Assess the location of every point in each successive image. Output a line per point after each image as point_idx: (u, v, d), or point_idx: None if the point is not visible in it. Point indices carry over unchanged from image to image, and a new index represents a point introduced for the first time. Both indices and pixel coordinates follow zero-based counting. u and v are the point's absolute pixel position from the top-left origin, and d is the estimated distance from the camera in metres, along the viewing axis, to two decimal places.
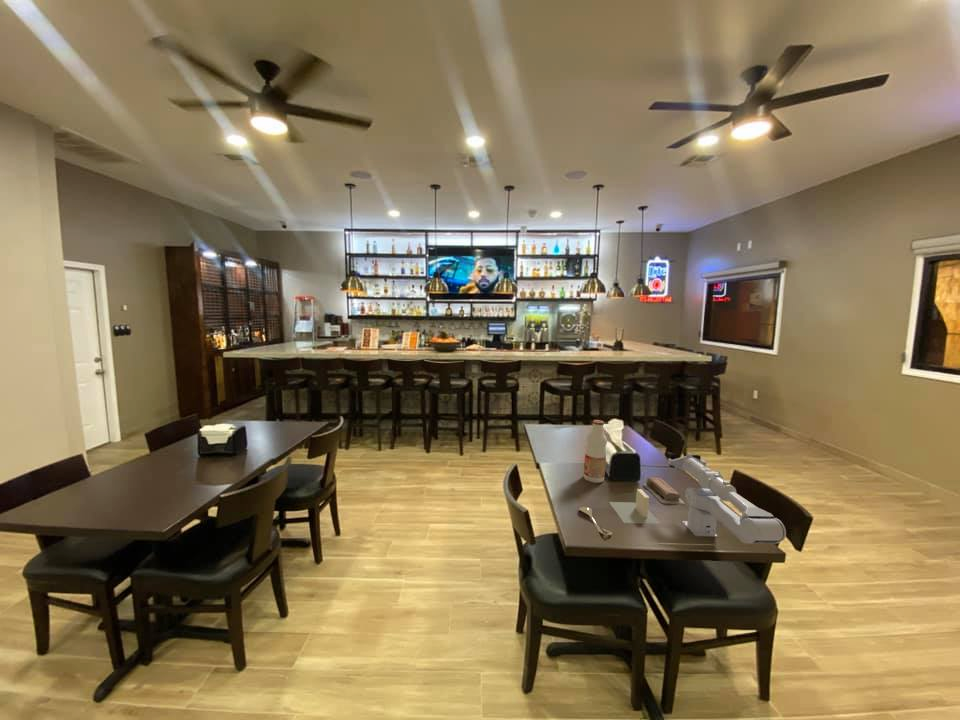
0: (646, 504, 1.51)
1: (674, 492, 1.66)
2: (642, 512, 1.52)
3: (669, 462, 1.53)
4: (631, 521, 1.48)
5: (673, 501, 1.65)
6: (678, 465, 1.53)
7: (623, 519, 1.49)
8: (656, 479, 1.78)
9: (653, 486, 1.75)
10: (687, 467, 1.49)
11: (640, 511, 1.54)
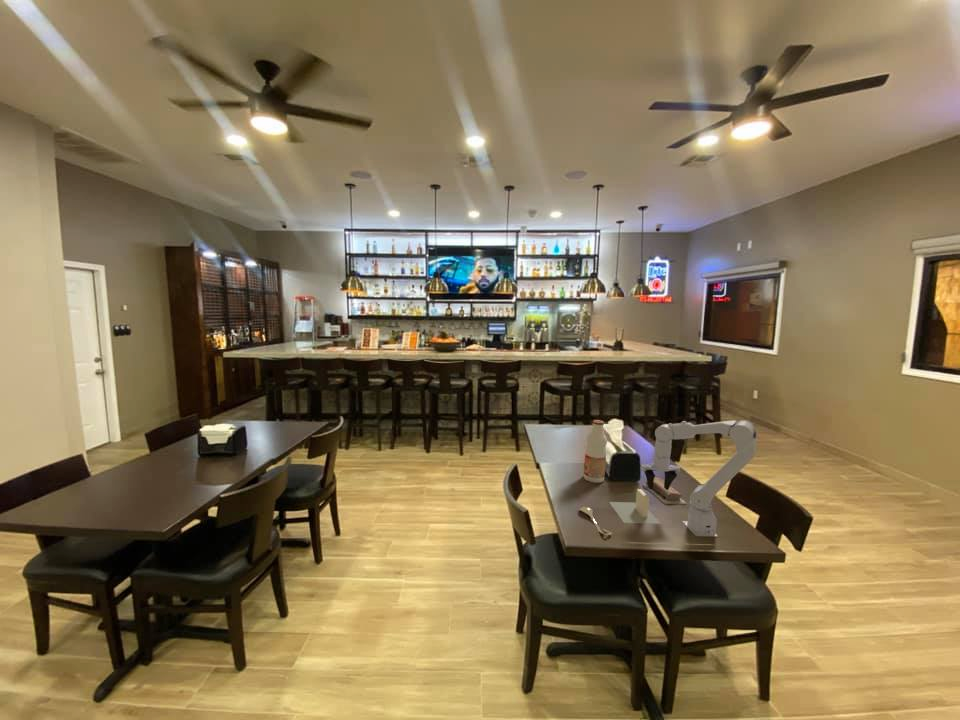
0: (646, 504, 1.51)
1: (675, 492, 1.66)
2: (642, 512, 1.52)
3: (642, 467, 1.52)
4: (631, 521, 1.48)
5: (675, 501, 1.65)
6: (652, 468, 1.52)
7: (623, 519, 1.49)
8: (656, 479, 1.78)
9: (653, 486, 1.74)
10: (654, 456, 1.52)
11: (640, 511, 1.54)
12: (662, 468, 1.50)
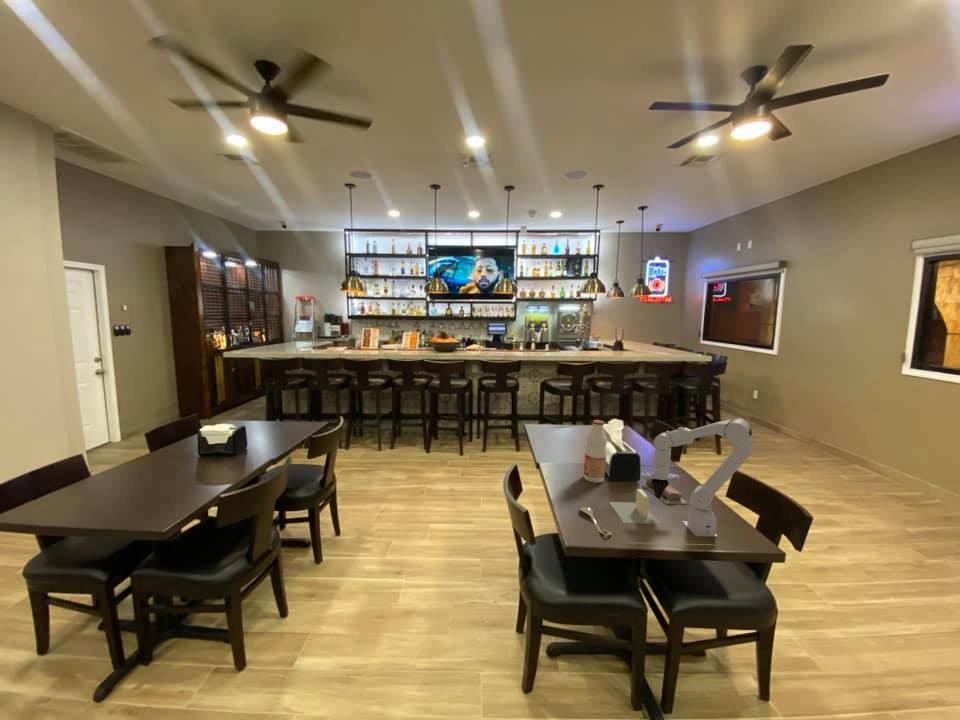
0: (646, 504, 1.51)
1: (676, 492, 1.66)
2: (642, 512, 1.52)
3: (641, 475, 1.53)
4: (631, 521, 1.48)
5: (676, 501, 1.65)
6: None
7: (623, 519, 1.49)
8: None
9: None
10: (654, 465, 1.52)
11: (640, 511, 1.54)
12: (661, 477, 1.50)
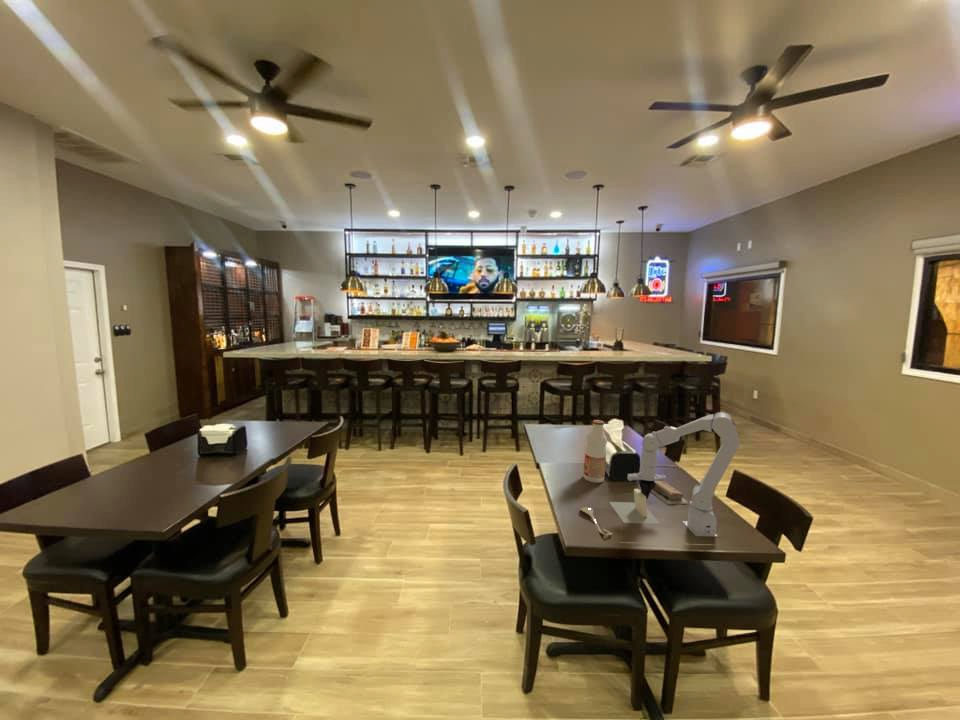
0: (644, 504, 1.51)
1: (677, 492, 1.66)
2: (641, 512, 1.52)
3: (628, 476, 1.53)
4: (631, 521, 1.48)
5: (677, 501, 1.65)
6: None
7: (623, 519, 1.49)
8: None
9: (654, 487, 1.74)
10: (641, 466, 1.52)
11: (640, 511, 1.54)
12: (648, 478, 1.50)
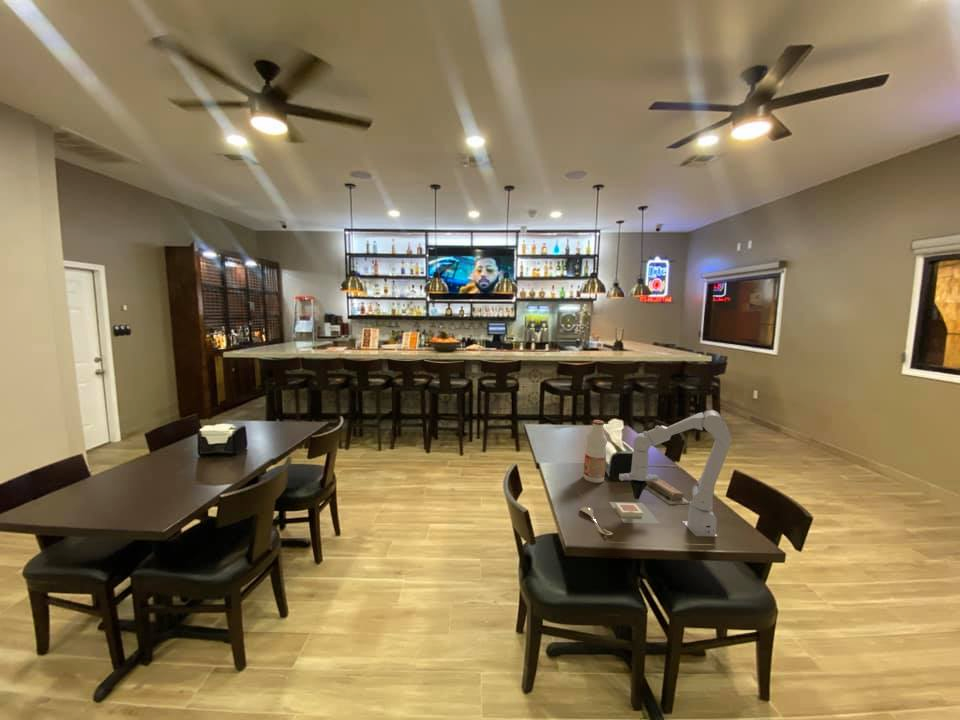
0: (629, 514, 1.51)
1: (678, 492, 1.67)
2: None
3: (620, 476, 1.53)
4: (631, 521, 1.48)
5: (678, 501, 1.65)
6: None
7: (623, 519, 1.49)
8: None
9: (654, 487, 1.74)
10: (632, 466, 1.52)
11: None
12: (639, 477, 1.50)
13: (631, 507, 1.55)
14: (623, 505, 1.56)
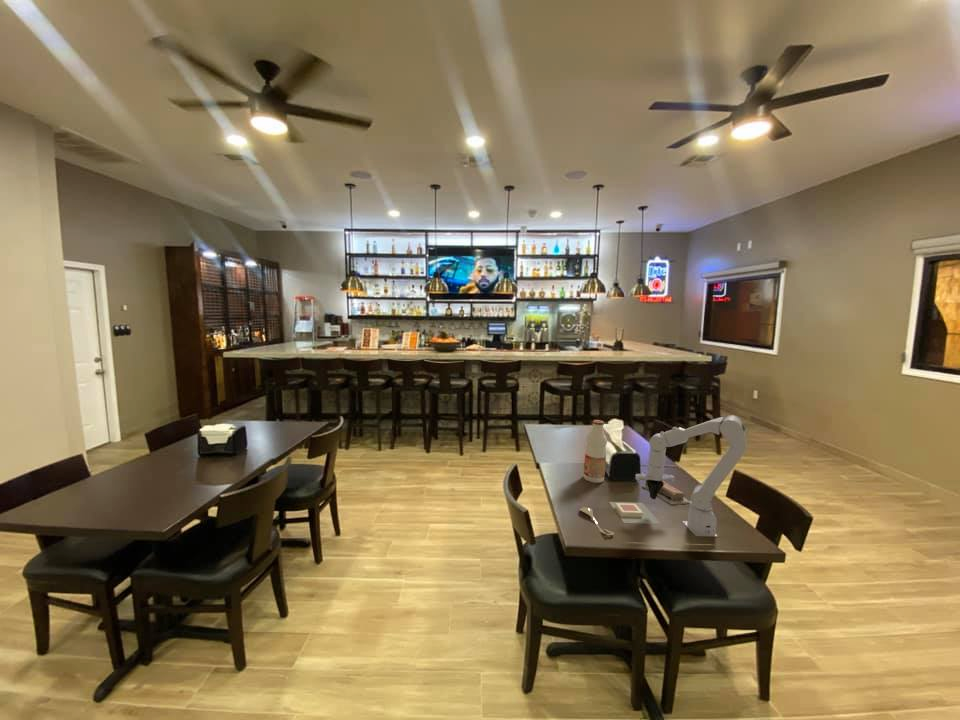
0: (629, 514, 1.51)
1: (679, 491, 1.67)
2: None
3: (636, 476, 1.53)
4: (631, 521, 1.48)
5: (679, 501, 1.65)
6: None
7: (623, 519, 1.49)
8: None
9: None
10: (648, 466, 1.52)
11: None
12: (656, 478, 1.50)
13: (631, 507, 1.55)
14: (623, 505, 1.56)
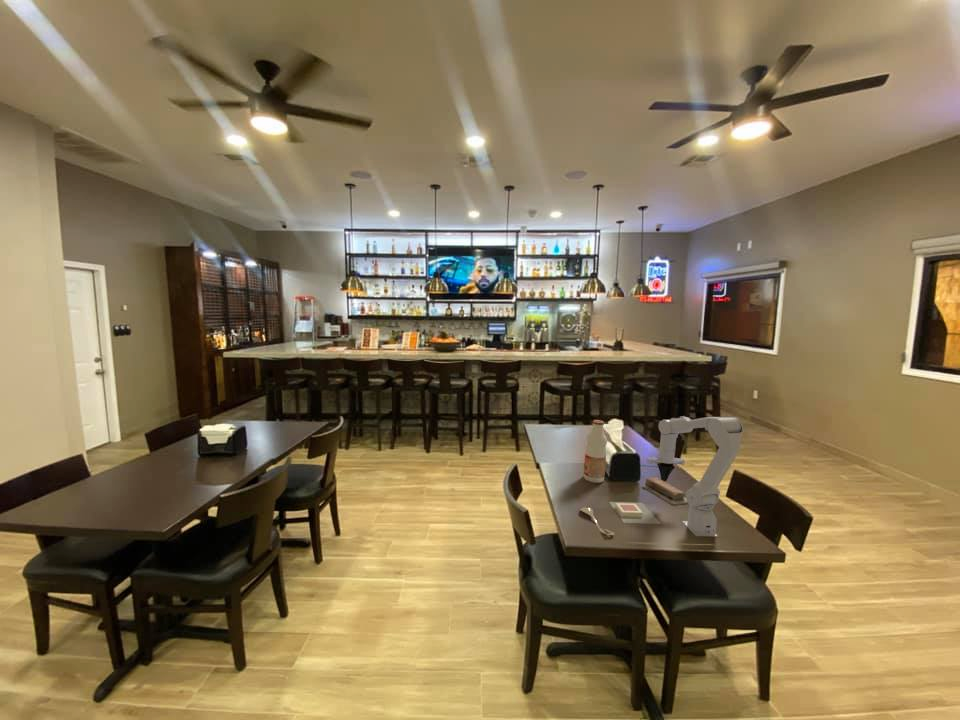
0: (629, 514, 1.51)
1: (680, 491, 1.67)
2: None
3: (648, 460, 1.60)
4: (631, 521, 1.48)
5: (680, 501, 1.65)
6: None
7: (623, 519, 1.49)
8: (655, 479, 1.78)
9: (655, 487, 1.74)
10: (660, 449, 1.60)
11: None
12: (667, 460, 1.58)
13: (631, 507, 1.55)
14: (623, 505, 1.56)
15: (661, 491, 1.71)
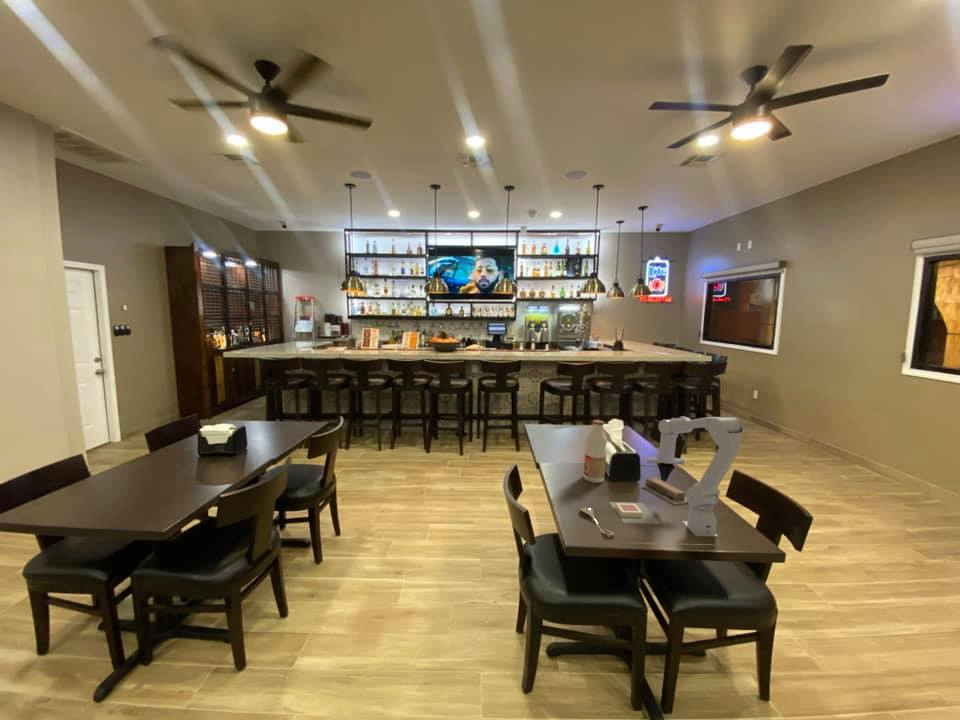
0: (629, 514, 1.51)
1: (680, 491, 1.67)
2: None
3: (648, 460, 1.60)
4: (631, 521, 1.48)
5: (681, 500, 1.65)
6: None
7: (623, 519, 1.49)
8: (655, 479, 1.78)
9: (656, 487, 1.74)
10: (660, 449, 1.60)
11: None
12: (667, 460, 1.58)
13: (631, 507, 1.55)
14: (623, 505, 1.56)
15: (662, 491, 1.71)
